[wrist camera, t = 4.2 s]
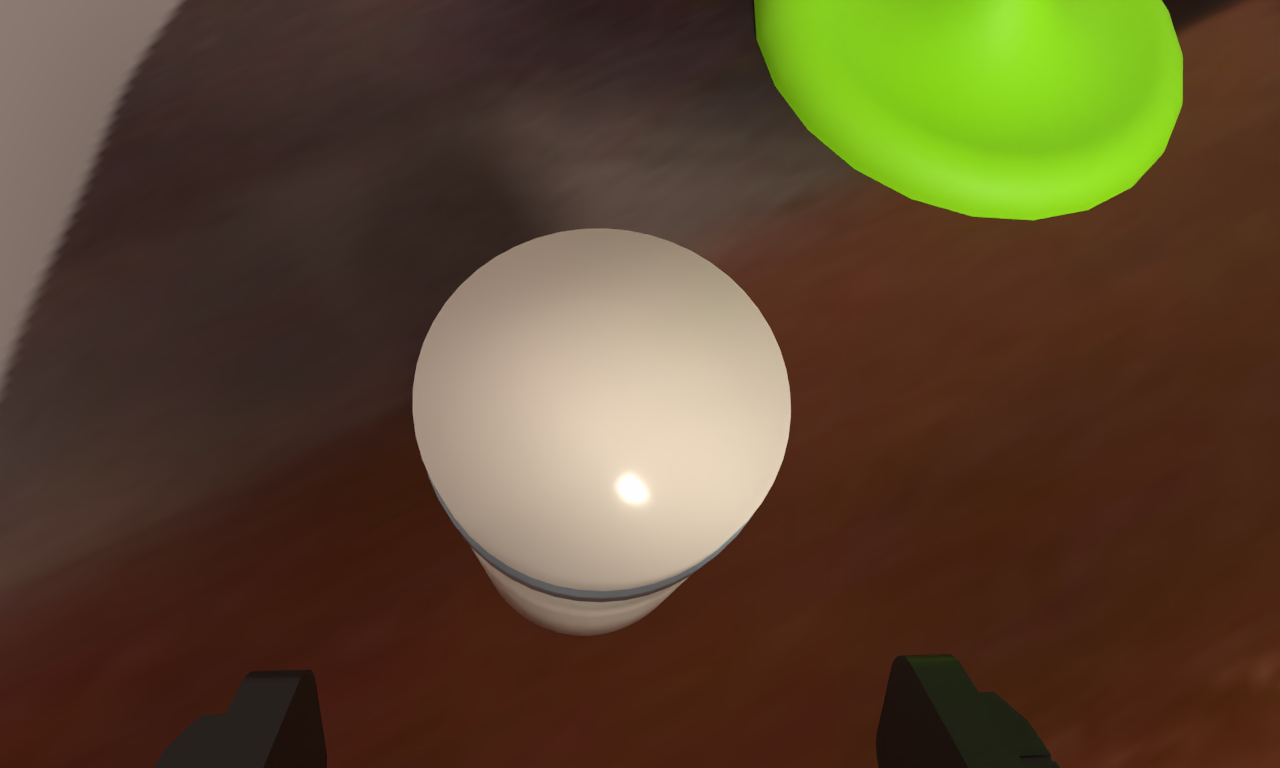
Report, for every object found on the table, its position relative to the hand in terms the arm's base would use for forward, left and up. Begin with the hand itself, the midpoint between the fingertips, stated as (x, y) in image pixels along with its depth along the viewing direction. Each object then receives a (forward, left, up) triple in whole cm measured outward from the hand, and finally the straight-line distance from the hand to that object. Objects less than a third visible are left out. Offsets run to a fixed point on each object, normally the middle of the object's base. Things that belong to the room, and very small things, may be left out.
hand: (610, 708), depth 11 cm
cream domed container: (0, -4, -9) cm, 10 cm away
